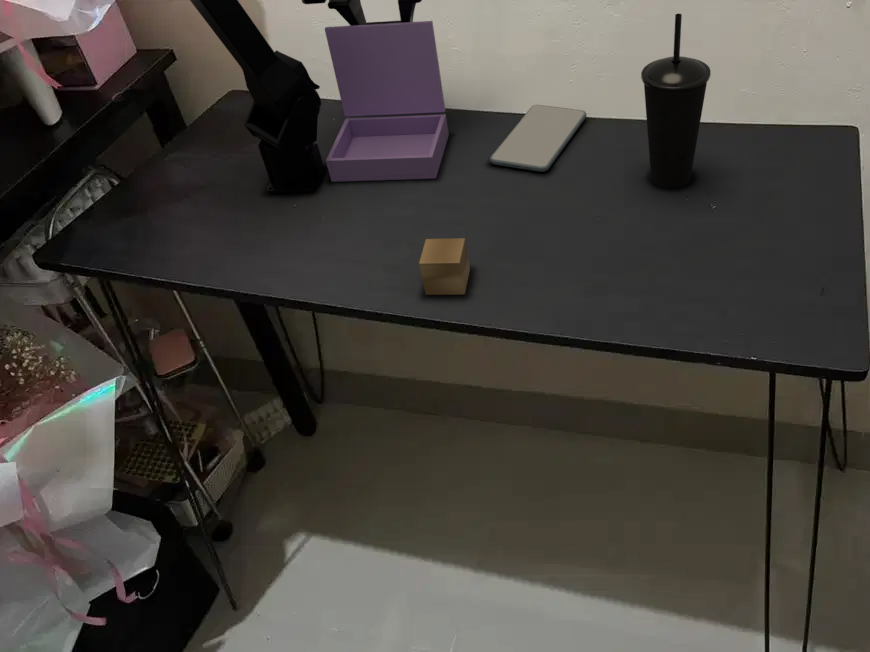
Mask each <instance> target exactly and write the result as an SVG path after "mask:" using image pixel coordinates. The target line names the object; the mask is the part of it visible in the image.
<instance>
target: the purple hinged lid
mask: <svg viewBox="0 0 870 652" xmlns="http://www.w3.org/2000/svg"><path fill="white" fill-rule="evenodd" d="M434 29H435V28H434V22H433V20H423V21H413V22H405V23H401V19H400V20H387V21H385V20H384V21H370V22H367V21H366V25H354V26H350V25H341V26H325V27H324V33H325V37H326V41H327V46H328V51H329V54H330V58H331V62H332V63H331V64H332V67H333V72H334V76H335V80H336V83H337V90H338V93H339V97H340V101H341V106H342V110H343V111H342V112H343V114H344V117H365V116H366V117H367V116H385V115H386V116H389V115H412V114H413V115H414V114H433V113H436V114H438V113H445V112H446V105H445V104H446V103H445V97H444V91H443V84H442V75H441V70H440V65H439V64H440V63H439V55H438V50H437V42H436V36H435V30H434Z"/></svg>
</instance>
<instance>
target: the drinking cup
mask: <svg viewBox="0 0 870 652" xmlns="http://www.w3.org/2000/svg"><path fill="white" fill-rule="evenodd" d="M682 19H683V18H682V14H681V13H676V14H674V35H673V54H672V55H673V56H668V57H667V56H666V57H663V58H660V59H656V60H653V61H651V62H649V63H648V64H646V65H645V66H644V67H643V68H642V70H641V72H640V79H641V82H642V83H643V88H644V102H645V115H646V116H645V117H646V130H647V143H648V155H649V166H650V167H649V170H650V180H651V181H652V183H653V184H654V185H656V186H658V187H661V188H665V189H676V188H680V187H683V186H685V185H687V184H688V183H689V182H690V181H691V177H692V173H693V167H694V166H693V165H694V161H695V155H696V148H697V143H698V138H699V131H700V126H701V119H702V114H703V109H704V108H703V107H704V102H705V96H706V91H707V84H708V82H709V80H710V78H711V75H712V72H711V68H710V66H709V65H708V64H707V63H705V62H704V61H702V60H701V59H696V58H693V57H688V56H681V39H682V38H681V35H682Z"/></svg>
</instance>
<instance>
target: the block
mask: <svg viewBox="0 0 870 652" xmlns="http://www.w3.org/2000/svg"><path fill="white" fill-rule="evenodd" d="M418 266H419V269H420V270H419V271H420V274H421V279H422V284H423V289H424V293H425V295H426V296H450V295H451V296H453V295H454V296H458V295H460V296H462V295H463V296H464V295H466V291H467V286H468V280H469V277H470V271H471V266H470V262H469V255H468V249H467V241H466V238H465V237H460V238H458V237H457V238H451V237H450V238H426V239H425V241H424V245H423V249H422V251H421V255H420V258H419V263H418Z"/></svg>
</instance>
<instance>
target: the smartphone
mask: <svg viewBox="0 0 870 652" xmlns="http://www.w3.org/2000/svg"><path fill="white" fill-rule="evenodd" d="M586 118H587V112H586V111H585V110H581V109H574V108H567V107H561V106H560V107H559V106H553V105H552V106H551V105H543V104H533V105H532V106H531V107H530V108H529V109H528V110H527V111H526V112H525V114H524V115H523V116H522V117H521V119H520V120H519V121H518V122H517V123H516V125H515V126H514V127H513V129H512V130H511V131H510V132H509V134H508V135H507V136H506V137H505V138H504V139H503V141H502V142H501V143H500V144H499V145H498V147H497V148H496V149H495V150H494V151H493V153H492V154H491V156H490V157H489V161H490V163H491V164H492V165H496V166H501V167H502V166H503V167H508V168H509V167H510V168H513V169H514V168H515V169H521V170H527V171H533V172H539V173H540V172H541V173H543V172H546V171H549V169H550V168H551V167H552V165H553V164H554V163H555V161H556V160H557V158H558V157H559V156H560V154H561V152H562V151H563V150H564V148H565V147H566V145H568V143H569V142H570V140H571V139H572V137H573V136H574V135H575V133H576V132H577V131H578V129H579V128H580V127H581V125H582V124H583V122H584V121H585V119H586Z"/></svg>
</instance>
